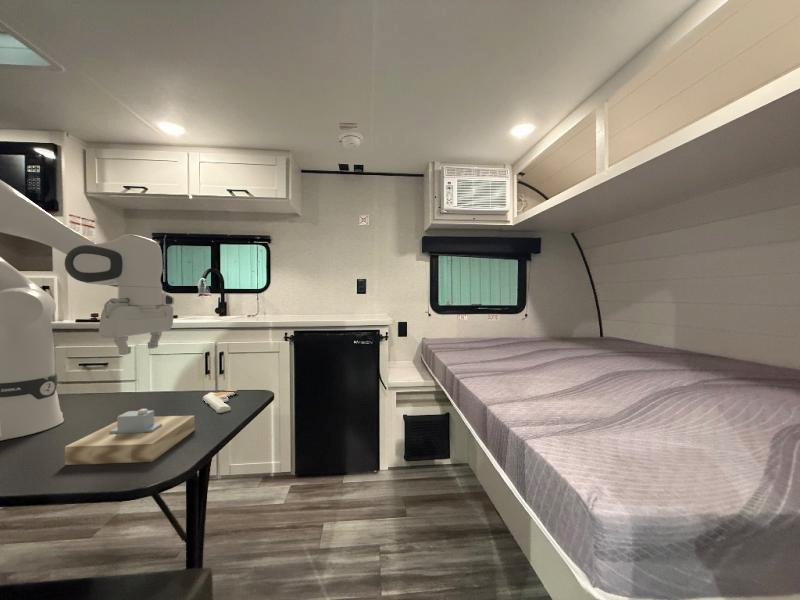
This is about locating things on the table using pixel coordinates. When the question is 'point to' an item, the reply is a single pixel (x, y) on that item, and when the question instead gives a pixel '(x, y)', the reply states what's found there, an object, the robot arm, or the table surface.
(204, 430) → the table surface
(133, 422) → the block
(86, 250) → the robot arm
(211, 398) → the pistol
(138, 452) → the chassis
